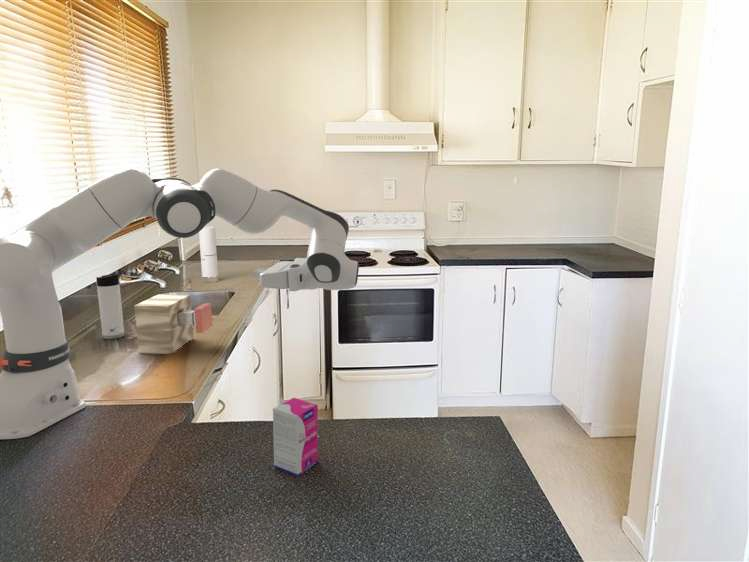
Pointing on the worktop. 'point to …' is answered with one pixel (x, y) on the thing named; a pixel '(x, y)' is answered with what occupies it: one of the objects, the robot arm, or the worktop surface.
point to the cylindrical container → (208, 252)
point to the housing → (162, 324)
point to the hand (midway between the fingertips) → (254, 272)
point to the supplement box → (295, 436)
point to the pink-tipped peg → (197, 317)
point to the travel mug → (110, 306)
